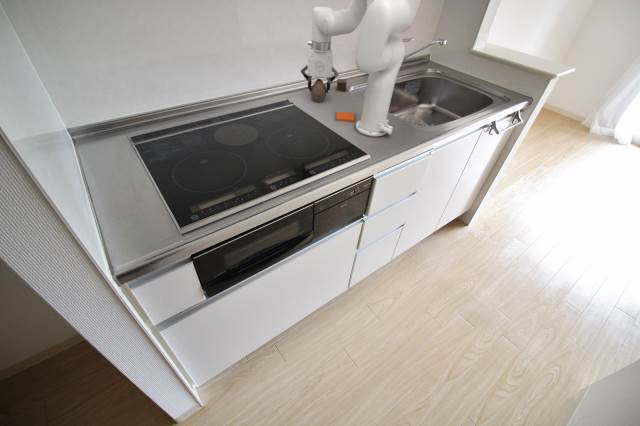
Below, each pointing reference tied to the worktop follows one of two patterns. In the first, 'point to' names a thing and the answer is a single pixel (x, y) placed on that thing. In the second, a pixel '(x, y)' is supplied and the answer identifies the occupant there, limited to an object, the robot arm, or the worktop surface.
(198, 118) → the worktop surface
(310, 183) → the worktop surface
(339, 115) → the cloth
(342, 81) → the walnut block
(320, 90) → the vase
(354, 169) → the worktop surface
